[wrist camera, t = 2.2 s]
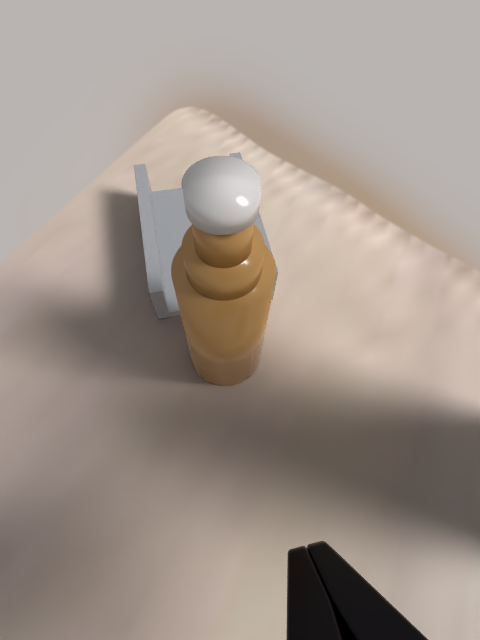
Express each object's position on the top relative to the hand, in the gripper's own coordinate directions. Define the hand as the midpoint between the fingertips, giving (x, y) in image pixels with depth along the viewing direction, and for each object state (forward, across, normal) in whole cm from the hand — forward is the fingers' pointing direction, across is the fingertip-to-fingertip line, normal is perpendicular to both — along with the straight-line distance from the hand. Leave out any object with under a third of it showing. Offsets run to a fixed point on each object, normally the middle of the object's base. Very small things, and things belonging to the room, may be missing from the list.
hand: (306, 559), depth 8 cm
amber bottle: (+16, 0, +1) cm, 16 cm away
